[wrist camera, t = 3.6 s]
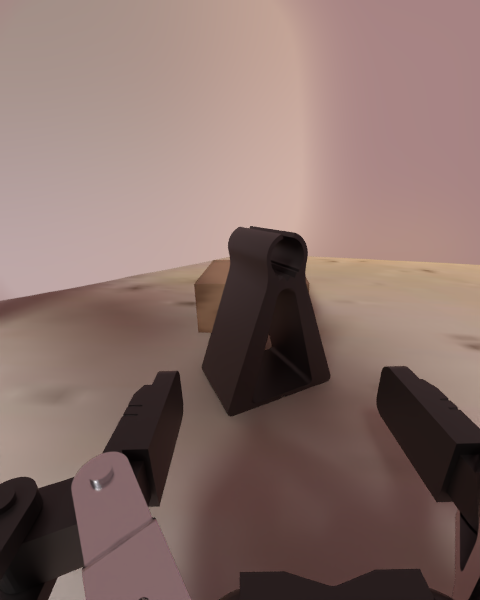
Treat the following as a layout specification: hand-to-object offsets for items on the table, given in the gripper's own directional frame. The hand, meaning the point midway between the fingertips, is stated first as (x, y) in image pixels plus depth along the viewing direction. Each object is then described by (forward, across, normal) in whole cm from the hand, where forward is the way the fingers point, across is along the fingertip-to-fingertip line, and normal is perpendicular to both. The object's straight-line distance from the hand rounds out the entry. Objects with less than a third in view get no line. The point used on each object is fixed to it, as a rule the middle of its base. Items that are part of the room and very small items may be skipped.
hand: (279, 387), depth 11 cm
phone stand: (+10, 0, +7) cm, 12 cm away
